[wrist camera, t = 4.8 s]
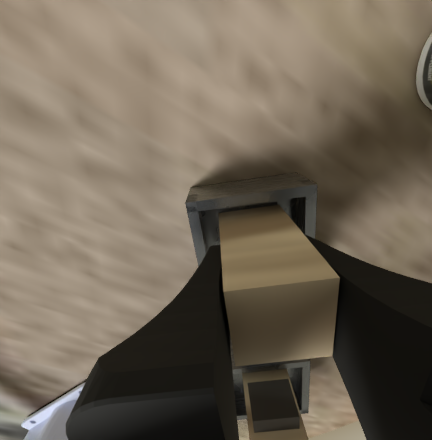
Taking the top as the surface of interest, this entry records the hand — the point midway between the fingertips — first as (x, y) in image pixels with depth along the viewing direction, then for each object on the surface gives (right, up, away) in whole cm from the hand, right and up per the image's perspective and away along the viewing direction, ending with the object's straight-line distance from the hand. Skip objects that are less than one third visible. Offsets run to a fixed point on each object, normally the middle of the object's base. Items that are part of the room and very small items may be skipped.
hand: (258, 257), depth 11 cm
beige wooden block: (0, +1, +2) cm, 2 cm away
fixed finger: (+2, -10, +7) cm, 12 cm away
